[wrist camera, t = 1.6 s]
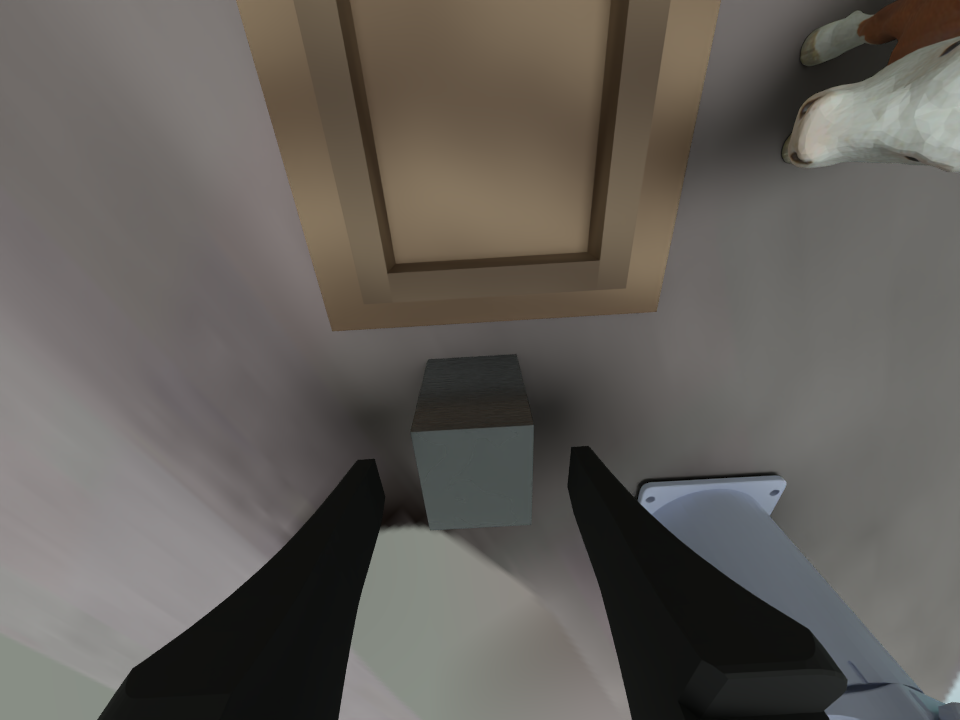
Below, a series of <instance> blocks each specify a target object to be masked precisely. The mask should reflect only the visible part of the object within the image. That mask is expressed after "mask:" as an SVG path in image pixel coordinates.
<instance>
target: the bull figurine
mask: <svg viewBox="0 0 960 720" xmlns="http://www.w3.org/2000/svg"><path fill="white" fill-rule="evenodd" d="M895 39H897V40H898V43H897V45H896V46H895V48H894V50H893V51H892V53H891V56H890V59H889V62H888V65H887V66H886V67H885V68H883V69H882V70H880V71H879V72H877V73H876V74H875V75H874V76H873V77H870V78H868V79H866V80H864V81H861V82H858V83H853V84H846V85H840V86H836V87H832V88H829V89H827V90H824V91H821V92H819V93H816V94H814V95H813V96H811V97H810V98H808V99H807V100H806V101H805V102H804V103H803V105H802V106H801V108H800V109H799V112H798V115H797V118H796V121H795V124H794V127H793V131H792V134H791V135H790V136H789V137H788V139H787V140H786V141H785V143H784V146H783V150H782V157H783V159H784V161H785V162H787V163H792V164H793V165H795V166H797V167H801V168H815V167H825V166H830V165H833V164H837V163H842V162H849V161H852V162H871V163H900V164H908V165H929V166H934V167H937V168H939V169H941V170H943V171H946V172H960V0H897V1H895V2H893V3H891V4H889V5H887V6H886V7H884V8H883V9H881V10H880V11H878V12H877V13H876V14H875V15H867V14H864V13H862V12H861V11H855V12H853V13H852V14H850V15H849V16H848V17H846V18H845V19H842V20H838V21H835V22H832V23H829V24H827V25H824V26H822V27H820V28H818V29H816V30H814V31H813V32H812V33H811V34H810V35H809V36H808V37H807V39H806V40H805V42H804V44H803V46H802V49H801V56H800V60H801V62H802V64H804V65H806V66H814V65H817V64H820V63H823V62H825V61H827V60H830V59H833V58H836V57H838V56H839V55H841V54H842V53H844V52H845V51H848V50H850V49H852V48H854V47H857V46H859V45H861V44H863V43H867V44H873V45H879V44H883V43H887V42H890V41H892V40H895Z"/></svg>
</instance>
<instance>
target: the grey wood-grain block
mask: <svg viewBox="0 0 960 720" xmlns="http://www.w3.org/2000/svg"><path fill="white" fill-rule="evenodd" d="M411 437H412V442H413V447H414V452H415V457H416V462H417V467H418V472H419V477H420V482H421V487H422V492H423V497H424V502H425V507H426V513H427V518H428V523H429V528H430V530H443V529H462V528H480V527H498V526H517V525H531V519H532V480H533V442H534V423H533V419H532V415H531V411H530V407H529V403H528V399H527V395H526V391H525V387H524V383H523V379H522V375H521V371H520V367H519V363H518V359H517V355H516V354H513V355H496V356H479V357H462V358H445V359H429V360H428V362H427V366H426V370H425V374H424V378H423V382H422V386H421V391H420V395H419V399H418V403H417V407H416V411H415V415H414V420H413V424H412V428H411Z"/></svg>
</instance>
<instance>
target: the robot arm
mask: <svg viewBox="0 0 960 720" xmlns="http://www.w3.org/2000/svg"><path fill="white" fill-rule="evenodd" d="M786 484H787V483H786V481H785V480H784V479H783V478H782V477H781V476H777V475H773V476H755V477H737V478H719V479H701V480H683V481H665V482H649V483H646V484H644V485H643V486H642V487H641V489H640V493H639V497H638V501H637V500H636V499H635V498H634V497H633V496H632V495H631V494H630V492H629V491H628V490H627V489H626V488H625V487H624V486H623V485H622V484H621V483H620V482H619V481H618V480H617V479H616V477H615V476H614V475H613V474H612V473H611V472H610V471H609V469H608V468H607V467H606V466H605V465H604V464H603V462H602V461H601V460H600V459H599V458H598V456H597V455H596V454H595V453H594V452H593V450H592V449H591V448H590V447H589V446H581V447H571V456H570V466H569V476H568V491H569V495H570V499H571V504H572V508H573V512H574V515H575V518H576V521H577V524H578V527H579V530H580V533H581V535H582V538H583V541H584V544H585V547H586V549H587V552H588V555H589V558H590V561H591V563H592V566H593V569H594V572H595V575H596V577H597V581H598V584H599V587H600V590H601V594H602V597H603V601H604V605H605V609H606V613H607V616H608V620H609V624H610V628H611V632H612V636H613V640H614V644H615V648H616V652H617V656H618V660H619V665H620V669H621V673H622V678H623V682H624V686H625V690H626V695H627V699H628V703H629V708H630V713H631V717H632V720H960V703H956V702H955V703H954V702H953V703H952V702H951V703H948V704H945V703H943V702H940V701H938V700H936V699H934V698H931V697H929V696H927V695H925V694H924V693H923V692H922V690H921V689H920V688H919V687H918V686H917V685H916V683H915V682H914V681H913V680H912V679H911V678H910V677H909V675H908V674H907V673H906V672H905V671H904V670H903V669H902V667H901V666H900V665H899V664H898V663H897V662H896V661H895V659H894V658H893V657H892V656H891V655H890V654H889V653H888V651H887V650H886V649H885V648H884V647H883V646H882V644H881V643H880V642H879V641H878V640H877V639H876V638H875V636H874V635H873V634H872V633H871V632H870V631H869V630H868V628H867V627H866V626H865V625H864V624H863V623H862V622H861V620H860V619H859V618H858V617H857V616H856V615H855V614H854V612H853V611H852V610H851V609H850V608H849V607H848V605H847V604H846V603H845V602H844V601H843V600H842V599H841V597H840V596H839V595H838V594H837V593H836V592H835V591H834V589H833V588H832V587H831V586H830V585H829V584H828V583H827V581H826V580H825V579H824V578H823V577H822V576H821V575H820V573H819V572H818V571H817V570H816V569H815V568H814V566H813V565H812V564H811V563H810V562H809V561H808V560H807V558H806V557H805V556H804V555H803V554H802V553H801V552H800V550H799V549H798V548H797V547H796V546H795V545H794V544H793V542H792V541H791V540H790V539H789V538H788V537H787V535H786V534H785V533H784V532H783V531H782V530H781V529H780V527H779V526H778V525H777V524H776V523H775V522H774V521H773V519H772V518H771V517H770V514H771V513H772V511H773V509H774V507H775V505H776V504H777V502H778V500H779V498H780V496H781V494H782V493H783V491H784V489H785V487H786ZM384 502H385V494H384V491H383V487H382V484H381V480H380V477H379V473H378V469H377V466H376V462H375V459H365V460H357V461H356V463H355V464H354V465H353V466H352V468H351V469H350V470H349V471H348V473H347V474H346V475H345V476H344V478H343V479H342V480H341V482H340V483H339V484H338V485H337V487H336V488H335V489H334V490H333V492H332V493H331V494H330V495H329V496H328V498H327V499H326V500H325V501H324V502H323V504H322V505H321V506H320V507H319V508H318V510H317V511H316V512H315V513H314V514H313V515H312V517H311V518H310V519H309V520H308V521H307V522H306V523H305V524H304V525H303V526H302V528H301V529H300V530H299V531H298V532H297V533H296V534H295V535H294V536H293V537H292V538H291V539H290V541H289V542H288V543H287V544H286V545H285V546H284V547H283V548H282V549H281V550H280V551H279V552H278V553H277V554H276V555H275V556H274V557H273V558H272V559H270V560H269V561H268V562H267V563H266V564H265V565H264V566H263V567H262V568H261V569H260V570H259V571H258V572H256V573H255V574H254V575H253V576H252V577H251V578H250V579H249V580H247V581H246V582H245V583H244V584H243V585H242V586H241V587H239V588H238V589H237V590H236V591H235V592H234V593H233V594H231V595H230V596H229V597H228V598H227V599H225V600H224V601H223V602H222V603H220V604H219V605H218V606H217V607H215V608H214V609H213V610H212V611H211V612H209V613H208V614H207V615H205V616H204V617H203V618H202V619H200V620H199V621H198V622H196V623H195V624H194V625H193V626H191V627H190V628H189V629H187V630H186V631H185V632H183V633H182V634H181V635H179V636H178V637H176V638H175V639H174V640H172V641H171V642H169V643H168V644H167V645H165V646H164V647H162V648H161V649H160V650H158V651H157V652H155V653H154V654H153V655H151V656H150V657H148V658H147V659H146V660H144V661H143V662H141V663H140V664H138V665H137V666H136V667H134V668H133V669H132V670H131V671H130V673H129V674H128V676H127V677H126V678H125V680H124V681H123V683H122V684H121V686H120V687H119V689H118V690H117V691H116V693H115V694H114V696H113V697H112V699H111V700H110V702H109V703H108V705H107V706H106V708H105V709H104V711H103V712H102V713H101V715H100V716H99V718H98V719H97V720H338V718H339V711H340V705H341V699H342V692H343V686H344V680H345V674H346V668H347V662H348V657H349V651H350V646H351V640H352V635H353V629H354V625H355V619H356V614H357V609H358V605H359V600H360V597H361V593H362V589H363V585H364V582H365V578H366V575H367V572H368V568H369V565H370V561H371V557H372V554H373V551H374V547H375V544H376V540H377V537H378V533H379V530H380V526H381V521H382V515H383V509H384Z"/></svg>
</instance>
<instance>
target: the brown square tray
mask: <svg viewBox="0 0 960 720" xmlns="http://www.w3.org/2000/svg"><path fill="white" fill-rule="evenodd" d="M236 1H237V5H238V8H239V12H240V15H241V19H242V22H243V25H244V29H245V32H246V36H247V39H248V43H249V46H250V50H251V53H252V56H253V60H254V63H255V67H256V70H257V74H258V77H259V81H260V84H261V87H262V91H263V94H264V98H265V101H266V105H267V108H268V111H269V115H270V118H271V122H272V125H273V129H274V132H275V136H276V139H277V142H278V146H279V149H280V153H281V156H282V160H283V163H284V167H285V170H286V173H287V177H288V180H289V184H290V187H291V191H292V194H293V197H294V201H295V204H296V208H297V211H298V215H299V218H300V222H301V225H302V228H303V232H304V235H305V239H306V242H307V246H308V249H309V253H310V256H311V259H312V263H313V266H314V270H315V273H316V277H317V280H318V283H319V287H320V290H321V294H322V297H323V301H324V304H325V308H326V311H327V314H328V318H329V321H330V325H331V328H332V331H345V330H362V329H378V328H395V327H412V326H428V325H445V324H462V323H478V322H495V321H512V320H528V319H545V318H562V317H578V316H595V315H612V314H628V313H645V312H657V307H658V302H659V297H660V292H661V287H662V283H663V278H664V273H665V268H666V263H667V258H668V254H669V249H670V244H671V239H672V234H673V229H674V225H675V220H676V215H677V210H678V205H679V201H680V196H681V191H682V186H683V181H684V176H685V172H686V167H687V162H688V157H689V152H690V147H691V143H692V138H693V133H694V128H695V123H696V118H697V114H698V109H699V104H700V99H701V94H702V89H703V85H704V80H705V75H706V70H707V65H708V61H709V56H710V51H711V46H712V41H713V36H714V32H715V27H716V22H717V17H718V12H719V7H720V3H721V0H236Z"/></svg>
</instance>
